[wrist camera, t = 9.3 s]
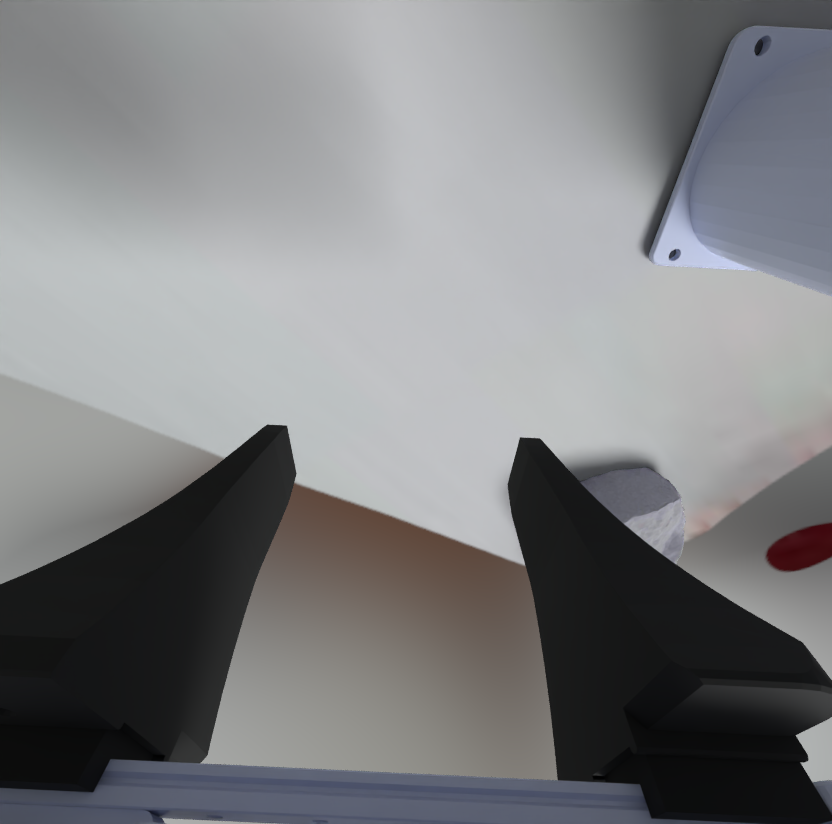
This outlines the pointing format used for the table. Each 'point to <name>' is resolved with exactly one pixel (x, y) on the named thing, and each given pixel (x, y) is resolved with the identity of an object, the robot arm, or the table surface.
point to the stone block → (643, 506)
